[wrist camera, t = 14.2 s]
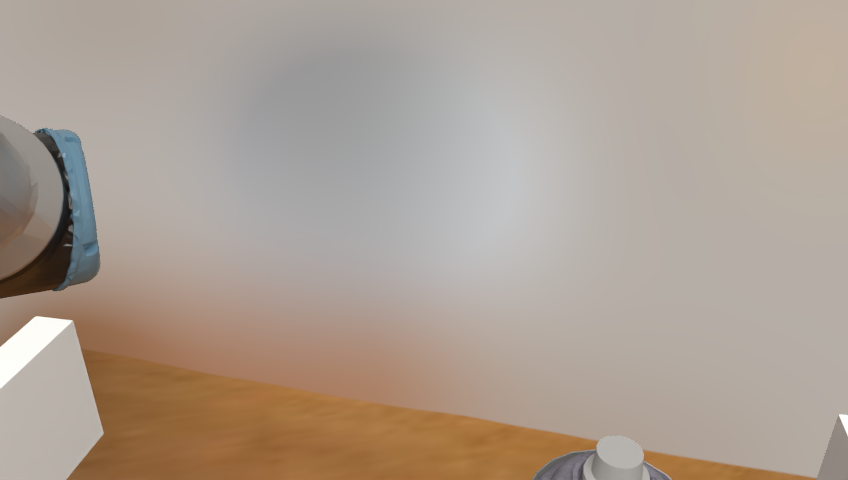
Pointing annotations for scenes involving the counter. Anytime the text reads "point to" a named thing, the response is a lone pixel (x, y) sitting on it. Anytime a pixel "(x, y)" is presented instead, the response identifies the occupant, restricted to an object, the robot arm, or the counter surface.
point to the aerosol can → (603, 463)
